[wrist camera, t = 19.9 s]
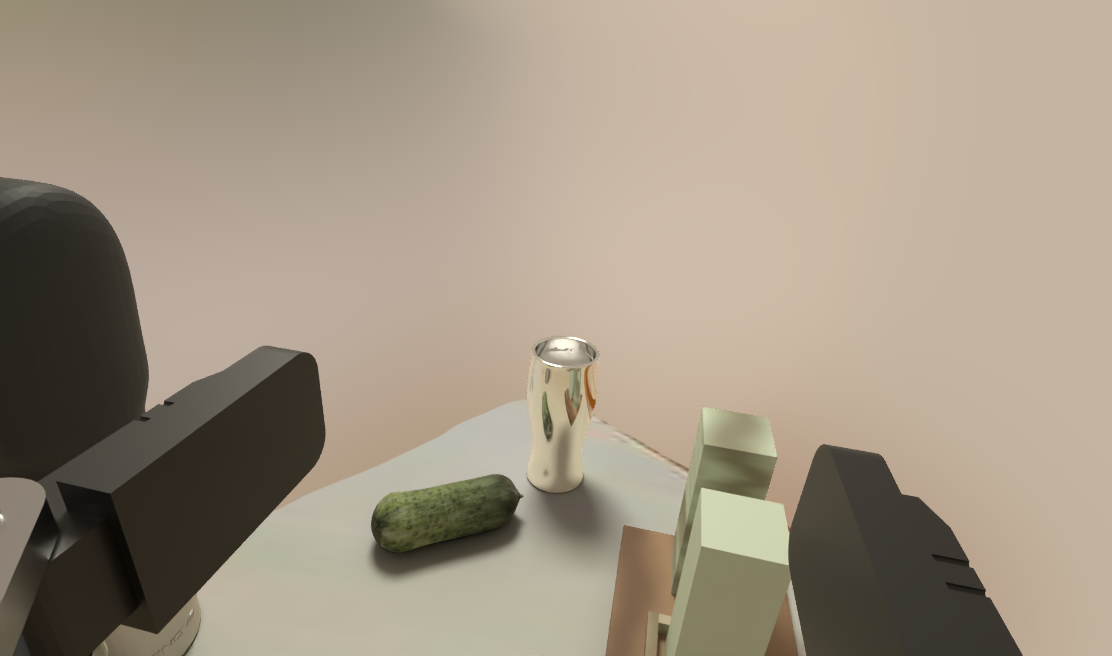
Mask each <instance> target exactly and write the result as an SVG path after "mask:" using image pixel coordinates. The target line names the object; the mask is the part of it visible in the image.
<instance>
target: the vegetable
mask: <svg viewBox="0 0 1112 656" xmlns="http://www.w3.org/2000/svg"><path fill="white" fill-rule="evenodd" d="M522 497H523V495H522V494H520V493H519V492H518V490H517V489H516V487H515V485H514V484H513V482H512V481H511V480H510V479H509V478H507V477H505V476H503V475H499V474H492V475H487V476H483V477H479V478H474V479H470V480H465V481H460V482H455V483H450V484H445V485H441V486H436V487H432V488H427V489H422V490H414V491H405V492H395V493H390V494H389V495H387V496H385V497H384V498H383V499H382V500H381V501H380V502H379V503H378V505H377V506H376V508H375V510H374V512H373V516H372V521H371V529H372V533H373V536H374V538H375V540H376V541H377V542H378V544H379V545H380V546H382V547H383V548H384V549H386V550H388V551H392V552H398V553H402V552H405V551H409V550H412V549H415V548H418V547H422V546H425V545H428V544H432V543H437V542H441V541H445V540H450V539H454V538H458V537H462V536H467V535H471V534H475V533H480V532H484V531H488V530H491V529H495V528H498V527H500V526H503V525H505V524H506V523H507V522H508V521H509V520H510V519H511V518H512V516H513V514H514V512H515V510H516V507H517V505H518V502H519V500H520V498H522Z"/></svg>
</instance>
